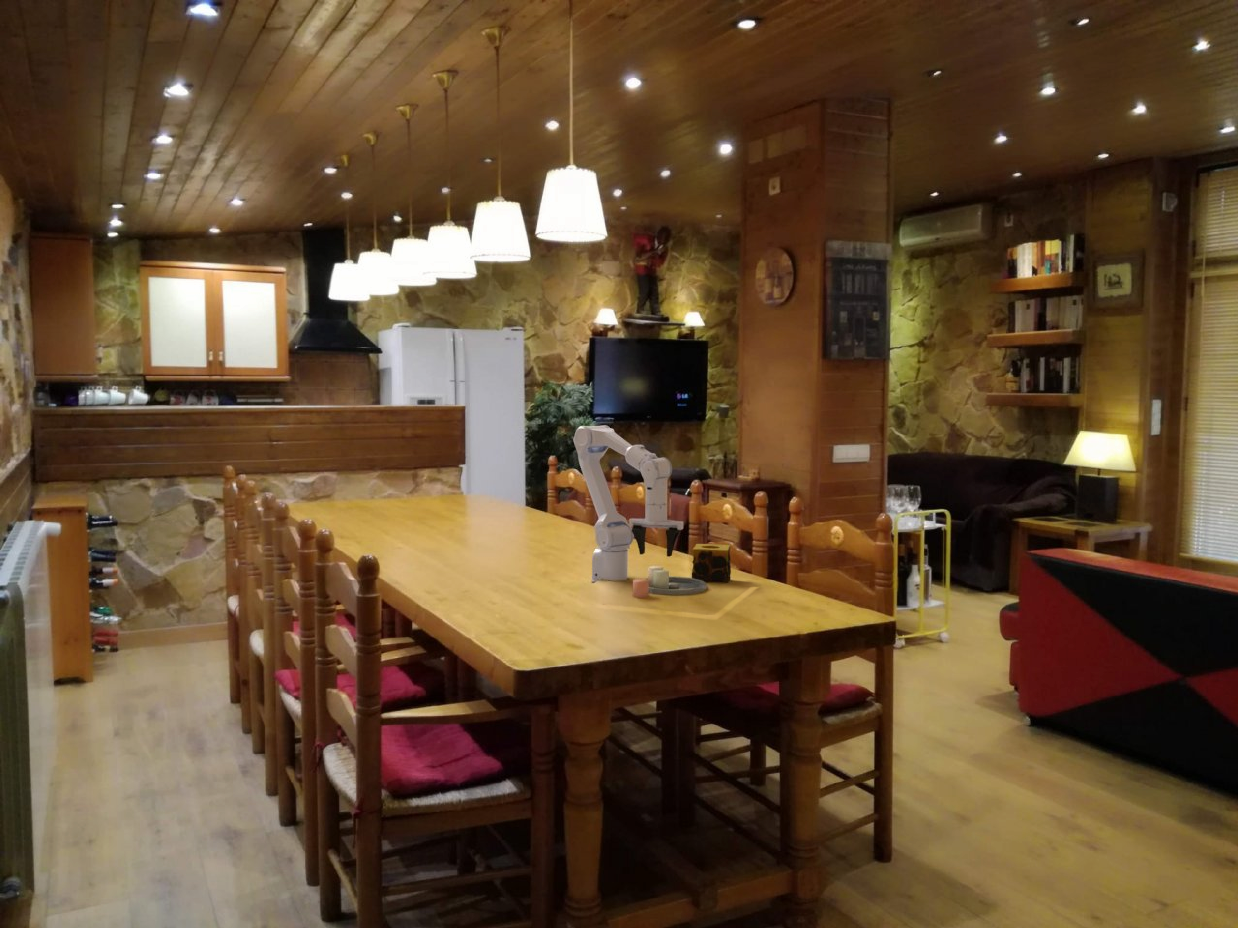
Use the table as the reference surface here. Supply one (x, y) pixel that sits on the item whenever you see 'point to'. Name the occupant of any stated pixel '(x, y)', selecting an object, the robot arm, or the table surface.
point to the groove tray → (681, 586)
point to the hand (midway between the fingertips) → (655, 554)
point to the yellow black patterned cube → (711, 563)
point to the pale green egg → (661, 579)
